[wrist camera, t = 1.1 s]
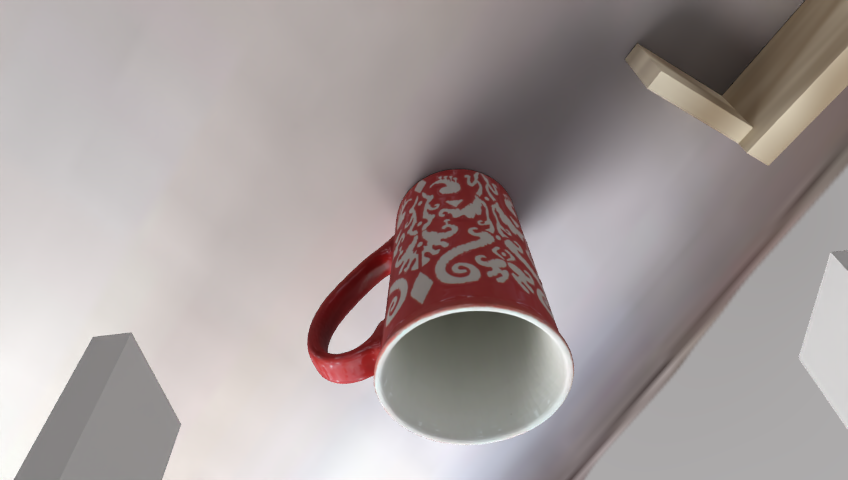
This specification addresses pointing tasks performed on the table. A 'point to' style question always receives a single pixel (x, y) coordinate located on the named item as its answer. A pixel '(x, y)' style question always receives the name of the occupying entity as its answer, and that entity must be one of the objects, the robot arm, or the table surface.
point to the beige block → (765, 82)
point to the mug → (453, 319)
